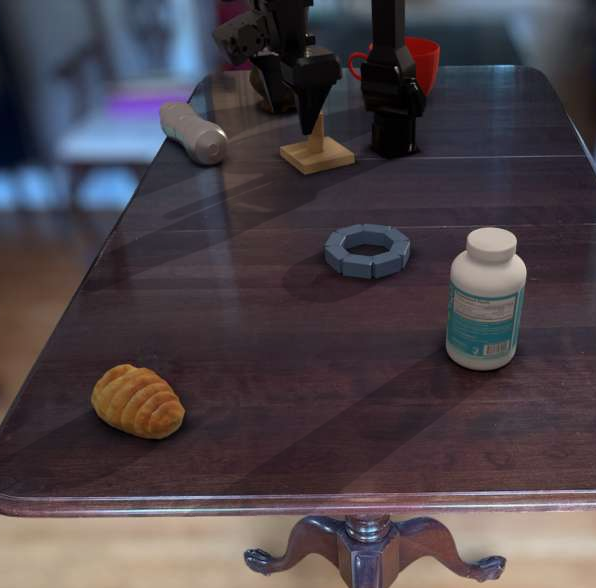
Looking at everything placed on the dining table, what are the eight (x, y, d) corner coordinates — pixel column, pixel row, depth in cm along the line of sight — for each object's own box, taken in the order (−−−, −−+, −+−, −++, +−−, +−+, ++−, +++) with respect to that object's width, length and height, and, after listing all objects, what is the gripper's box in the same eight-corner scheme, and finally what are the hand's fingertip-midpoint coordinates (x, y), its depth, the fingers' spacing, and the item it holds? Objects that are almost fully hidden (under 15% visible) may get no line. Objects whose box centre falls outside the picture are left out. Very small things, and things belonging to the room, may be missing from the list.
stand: (328, 145, 121) (326, 99, 116) (354, 163, 115) (353, 115, 110) (280, 155, 118) (276, 109, 113) (304, 174, 112) (301, 126, 107)
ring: (381, 231, 97) (381, 217, 96) (423, 264, 91) (423, 249, 89) (313, 250, 93) (312, 236, 92) (351, 286, 87) (351, 271, 85)
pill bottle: (469, 324, 80) (481, 213, 71) (527, 349, 77) (546, 235, 68) (431, 355, 76) (437, 241, 67) (490, 383, 72) (505, 266, 64)
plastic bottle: (221, 119, 110) (176, 85, 123) (184, 141, 109) (143, 104, 121) (239, 155, 114) (194, 119, 127) (203, 177, 113) (161, 138, 126)
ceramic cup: (351, 91, 142) (349, 36, 135) (436, 92, 141) (438, 37, 135) (346, 114, 132) (345, 56, 126) (438, 115, 132) (441, 56, 125)
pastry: (204, 417, 69) (197, 386, 66) (149, 456, 65) (139, 426, 62) (142, 380, 73) (134, 350, 71) (87, 415, 69) (75, 384, 67)
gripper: (187, -23, 85) (207, 112, 95) (245, 9, 72) (261, 160, 83) (274, -31, 89) (284, 99, 99) (342, -3, 76) (346, 142, 87)
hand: (291, 123), depth 92 cm, fingers open, 9 cm apart
